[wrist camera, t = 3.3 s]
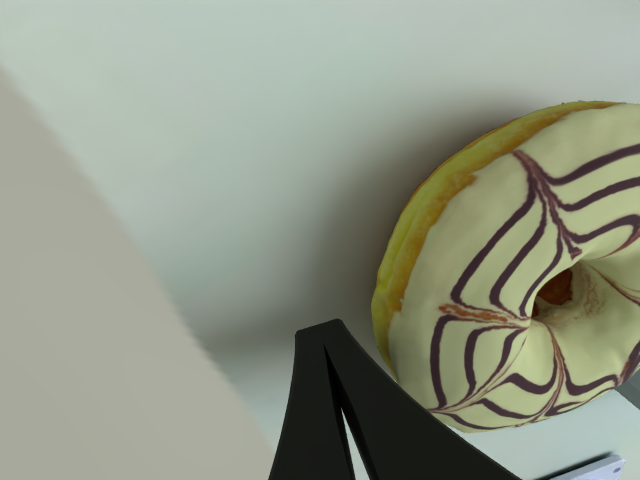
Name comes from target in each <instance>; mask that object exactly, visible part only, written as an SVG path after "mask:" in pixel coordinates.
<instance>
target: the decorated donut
mask: <svg viewBox="0 0 640 480" xmlns="http://www.w3.org/2000/svg"><path fill="white" fill-rule="evenodd" d="M371 315H372V321H373V327H374V335H375V340H376V343H377V347H378V349H379V352H380V354H381V356H382V358H383V359H384V361H385V362H386V364H387V365H388V367H389V368H390V370H391V373H392V375H393V377H394V379H395V380H396V382H397V383H398V385H399V386H400V387H401V388H402V389H403V390H404V391H405V392H407V393H408V394H409V395H410V396H411V397H412V398H413V399H414V400H416V401H417V402H418V403H419V404H420V405H421V406H423V407H424V408H425V409H426V410H427V411H428V412H430V413H431V414H432V415H433V416H435V417H436V418H437V419H438V420H440V421H441V422H442V423H444V424H447V425H449V426H451V427H454V428H456V429H457V430H459V431H461V432H464V433H478V432H487V431H493V430H499V429H504V428H515V427H520V426H524V425H528V424H532V423H535V422H539V421H542V420H546V419H549V418H551V417H554V416H556V415H559V414H562V413H565V412H568V411H571V410H573V409H576V408H579V407H581V406H583V405H585V404H586V403H588V402H590V401H592V400H594V399H596V398H598V397H600V396H602V395H604V394H605V393H607V392H609V391H610V390H612V389H614V388H615V387H617V386H619V385H621V384H623V383H624V382H626V381H627V380H629V379H630V378H631V377H632V375H633V374H634V373H635V372H636V371H637V370H638V369H639V368H640V104H630V103H616V102H604V101H590V102H586V101H578V102H569V103H566V104H565V103H562V104H561V105H557V106H551V107H548V108H545V109H542V110H537V111H535V112H532V113H530V114H528V115H526V116H524V117H521V118H517V119H514V120H512V121H510V122H508V123H506V124H504V125H502V126H500V127H498V128H496V129H494V130H492V131H490V132H488V133H486V134H484V135H482V136H481V137H479V138H477V139H476V140H474V141H472V142H471V143H470V144H468V145H466V146H465V147H464V148H463V149H462V150H460V151H458V152H457V153H456V154H454V155H453V156H451V157H449V158H448V159H447V160H445V161H444V162H443V163H442V164H441V165H440V166H439V167H437V168H436V169H435V170H434V171H433V173H432V174H431V175H430V176H429V177H428V178H427V179H426V180H425V181H423V182H422V183H421V184H420V185H419V186H418V187H417V189H416V190H415V191H414V193H413V194H412V196H411V197H410V199H409V201H408V202H407V204H406V205H405V206H404V208H403V210H402V212H401V214H400V217H399V219H398V222H397V223H396V225H395V227H394V230H393V233H392V235H391V236H390V238H389V242H388V245H387V249H386V252H385V255H384V258H383V260H382V262H381V265H380V267H379V270H378V273H377V283H376V288H375V291H374V295H373V298H372V304H371Z"/></svg>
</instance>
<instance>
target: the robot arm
mask: <svg viewBox="0 0 640 480" xmlns="http://www.w3.org/2000/svg"><path fill="white" fill-rule="evenodd" d="M341 408H342V410H343V413H344V415H345V418H346V421H347V423H348V426H349V428H350V431H351V433H352V436H353V438H354V441H355V443H356V446H357V448H358V451H359V454H360V456H361V459H362V461H363V464H364V466H365V469H366V471H367V474H368V476H369V479H370V480H522V479H520V478H519V477H517V476H516V475H514V474H513V473H511V472H510V471H508V470H507V469H506V468H504V467H503V466H501V465H500V464H498V463H497V462H496V461H494V460H493V459H491V458H490V457H488V456H487V455H485V454H484V453H483V452H481V451H480V450H478V449H477V448H475V447H474V446H473V445H471V444H470V443H468V442H467V441H466V440H464V439H463V438H462V437H460V436H459V435H458V434H456V433H455V432H454V431H452V430H451V429H450V428H449V427H447V426H446V425H445V424H443V423H442V422H441V421H440V420H438V419H437V418H436V417H435V416H433V415H432V414H431V413H430V412H428V411H427V410H426V409H425V408H424V407H423V406H421V405H420V404H419V403H418V402H417V401H416V400H414V399H413V398H412V397H411V396H410V395H409V394H408V393H407V392H405V391H404V390H403V389H402V388H401V387H400V386H399V385H398V384H397V383H396V382H395V381H394V380H393V379H392V378H391V377H390V376H389V375H387V374H386V373H385V372H384V370H383V369H382V368H381V367H380V366H379V365H378V364H377V363H376V362H375V361H374V360H373V359H372V358H371V357H370V356H369V355H368V354H367V353H366V351H365V350H364V349H363V348H362V347H361V346H360V344H359V343H358V342H357V341H356V340H355V338H354V337H353V336H352V335H351V333H350V332H349V331H348V329H347V328H346V326H345V325H344V323H343V322H342V320H340V319H338V318H337V319H334V320H331V321H328V322H324V323H321V324H318V325H315V326H311V327H308V328H305V329H302V330H299V331H297V332H296V334H295V356H294V366H293V374H292V381H291V387H290V393H289V399H288V404H287V409H286V413H285V418H284V422H283V427H282V431H281V435H280V439H279V443H278V447H277V451H276V455H275V458H274V462H273V465H272V469H271V472H270V476H269V479H268V480H356V479H355V474H354V469H353V464H352V459H351V454H350V449H349V444H348V439H347V434H346V429H345V424H344V419H343V414H342V410H341ZM624 465H625V460H624V459H623V458H622V457H621V456H620V455H613V456H610V457H607V458H605V459H602V460H600V461H597V462H594V463H592V464H589V465H586V466H584V467H581V468H579V469H576V470H573V471H571V472H568V473H565V474H563V475H560V476H557V477H555V478H552V479H550V480H618V479H619V476H620V474H621V472H622V469H623V467H624Z"/></svg>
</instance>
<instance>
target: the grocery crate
mask: <svg viewBox="0 0 640 480" xmlns="http://www.w3.org/2000/svg"><path fill="white" fill-rule="evenodd" d="M614 389H615V390H616V391H617V392H619V393H620V394H621V395H622V396H624V397H625V398H626V399H627V400H628V401H630V402H631V403H632V404H633V405H634V406H636V407H637V408H638V409H639V410H640V368H639V369H638V370H637V371H636V372H635V373H634V374H633V375H632V377H631V378H630V379H629V380H627V381H626V382H624V383H623V384H621V385H619V386H617V387H615V388H614Z"/></svg>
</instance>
